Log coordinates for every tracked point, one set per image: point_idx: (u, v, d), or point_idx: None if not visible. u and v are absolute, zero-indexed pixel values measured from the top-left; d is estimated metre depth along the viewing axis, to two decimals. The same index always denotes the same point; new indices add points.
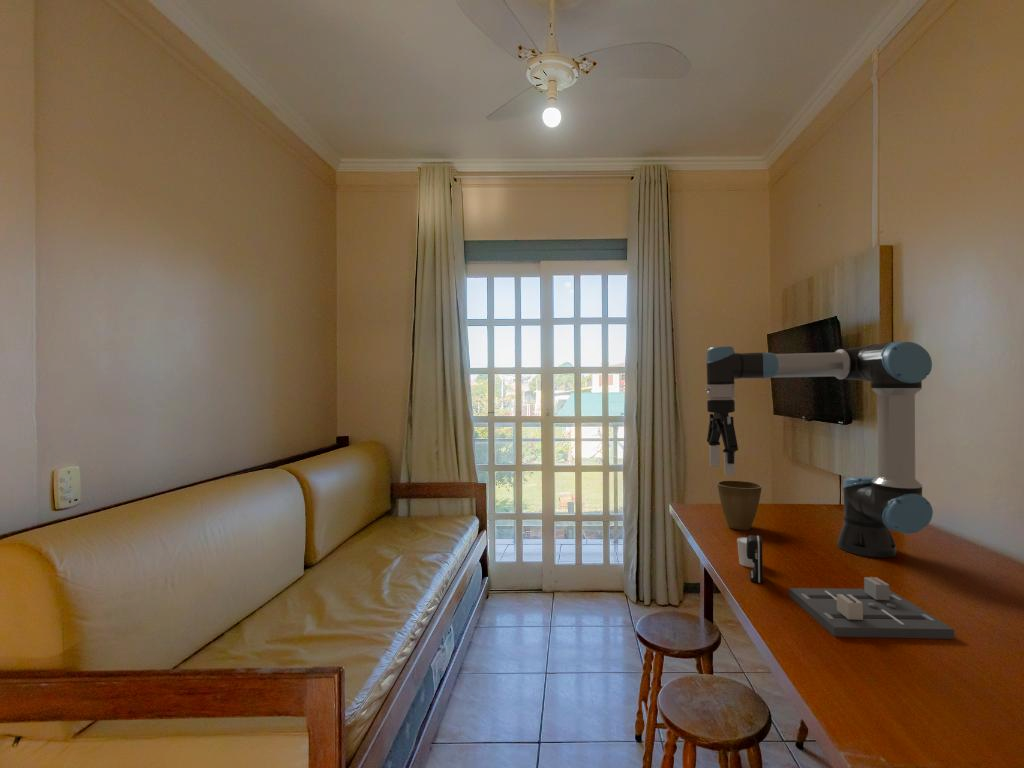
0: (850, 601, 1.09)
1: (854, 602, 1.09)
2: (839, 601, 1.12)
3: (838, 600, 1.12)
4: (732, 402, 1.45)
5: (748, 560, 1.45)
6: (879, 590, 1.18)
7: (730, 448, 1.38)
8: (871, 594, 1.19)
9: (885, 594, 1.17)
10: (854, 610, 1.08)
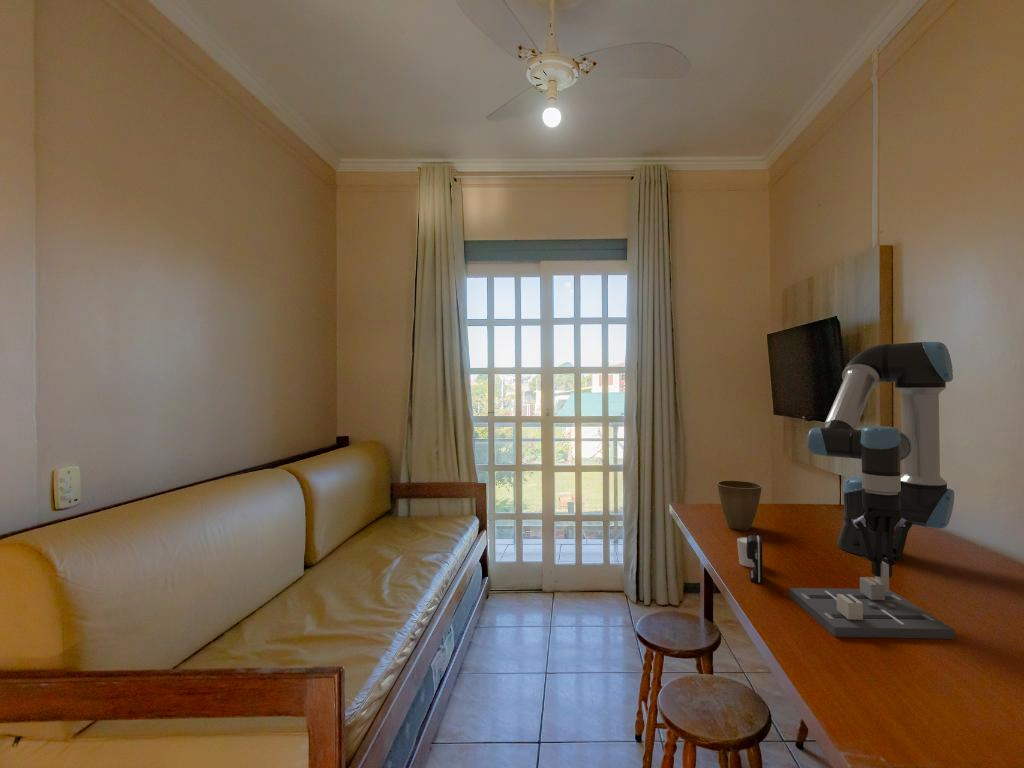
0: (850, 601, 1.09)
1: (854, 602, 1.09)
2: (839, 601, 1.12)
3: (838, 600, 1.12)
4: (874, 497, 1.17)
5: (748, 560, 1.45)
6: (875, 590, 1.18)
7: (863, 555, 1.20)
8: (866, 594, 1.19)
9: (881, 594, 1.18)
10: (854, 610, 1.08)
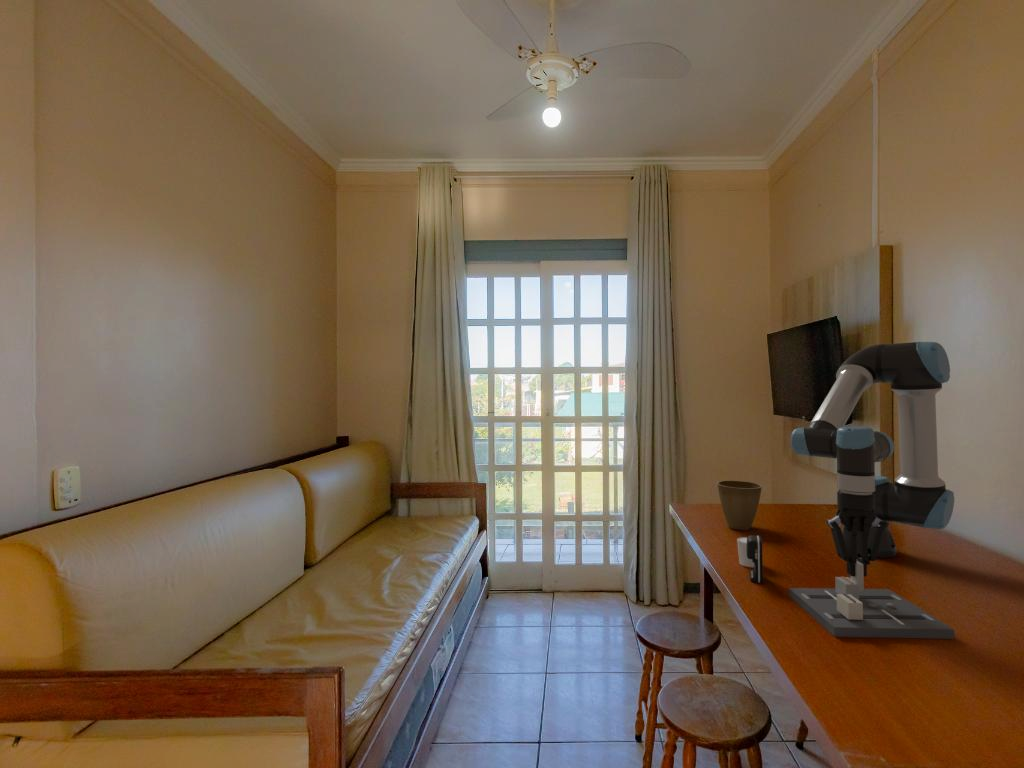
0: (850, 601, 1.09)
1: (854, 602, 1.09)
2: (839, 601, 1.12)
3: (838, 600, 1.12)
4: (849, 497, 1.18)
5: (748, 560, 1.45)
6: (849, 590, 1.18)
7: (838, 555, 1.21)
8: None
9: (855, 594, 1.18)
10: (854, 610, 1.08)
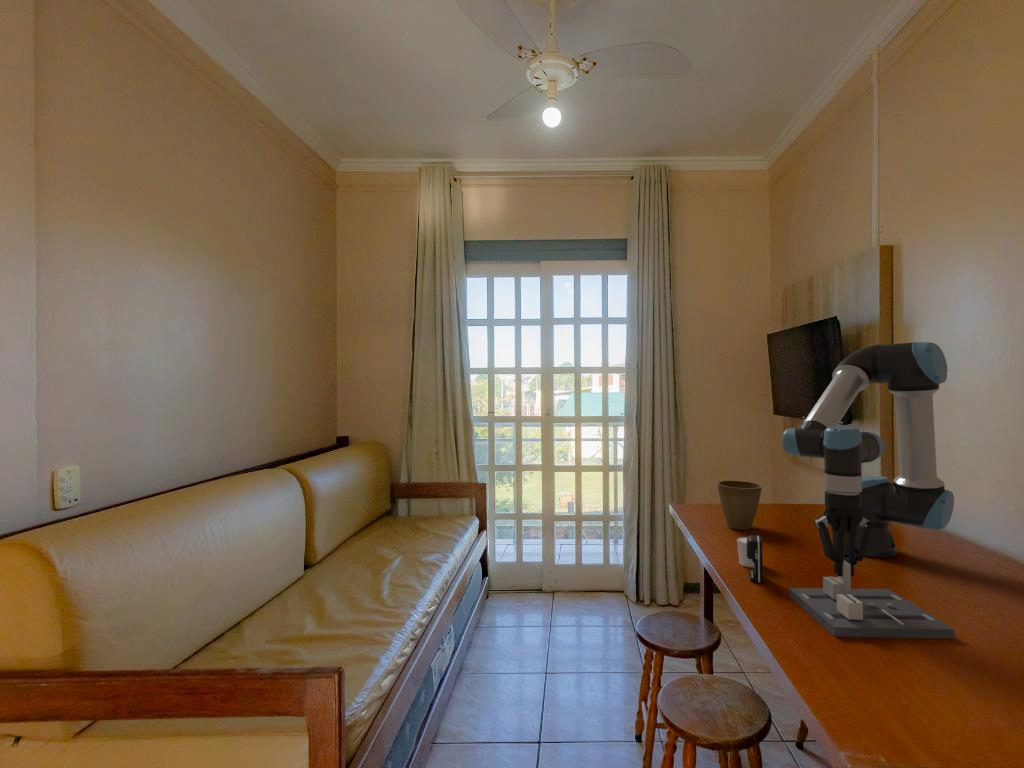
0: (850, 601, 1.09)
1: (854, 602, 1.09)
2: (839, 601, 1.12)
3: (838, 600, 1.12)
4: (836, 497, 1.18)
5: (748, 560, 1.45)
6: (836, 590, 1.18)
7: (826, 555, 1.21)
8: (829, 593, 1.20)
9: (842, 593, 1.18)
10: (854, 610, 1.08)
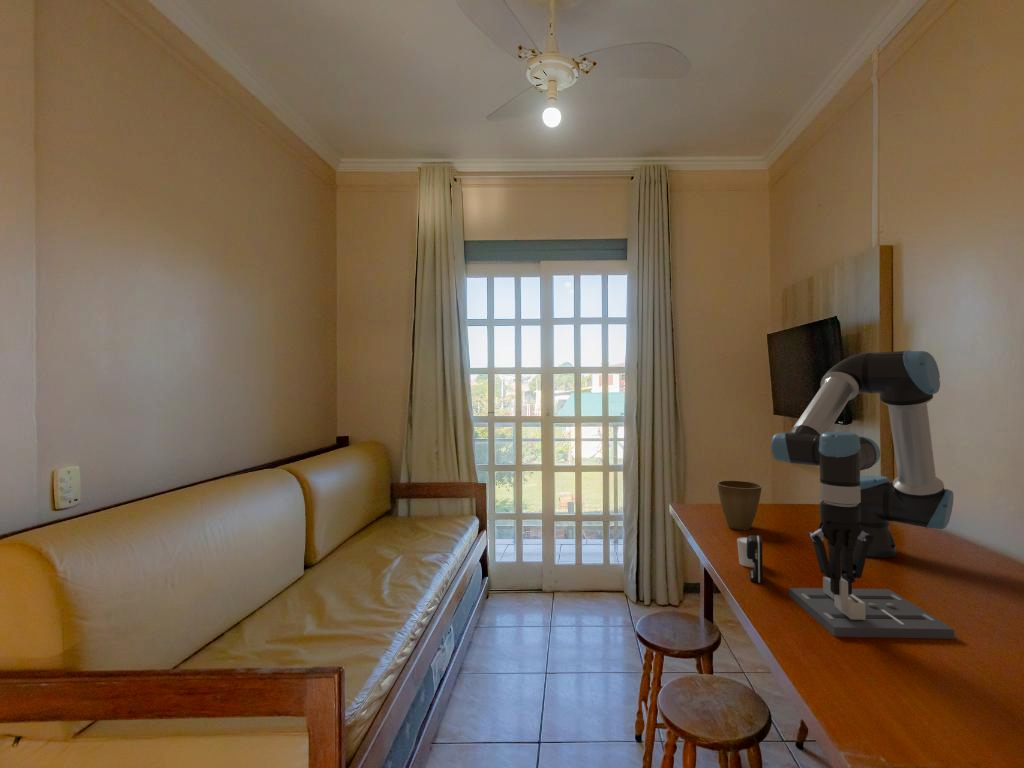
0: (853, 601, 1.09)
1: (857, 602, 1.08)
2: None
3: None
4: (832, 509, 1.08)
5: (748, 560, 1.45)
6: None
7: (821, 571, 1.12)
8: (829, 593, 1.20)
9: None
10: (857, 610, 1.08)
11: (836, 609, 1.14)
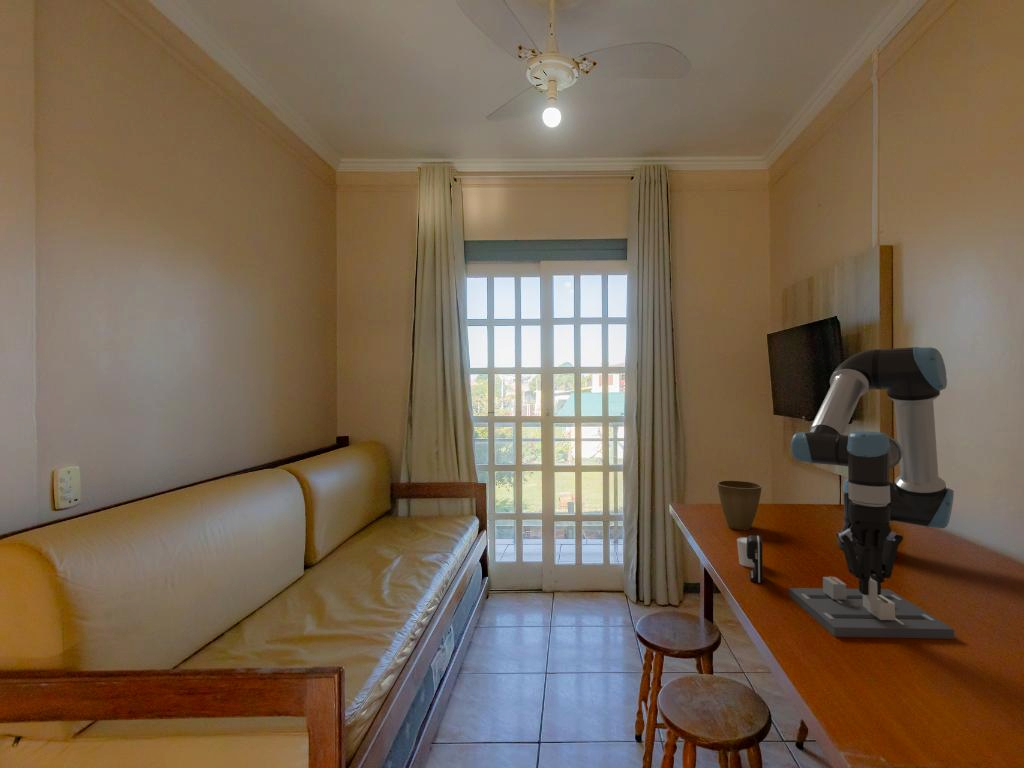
0: (882, 601, 1.09)
1: (886, 602, 1.08)
2: None
3: None
4: (861, 509, 1.08)
5: (748, 560, 1.45)
6: (836, 590, 1.18)
7: (850, 571, 1.11)
8: (829, 593, 1.20)
9: (842, 593, 1.18)
10: (886, 611, 1.08)
11: (836, 609, 1.14)
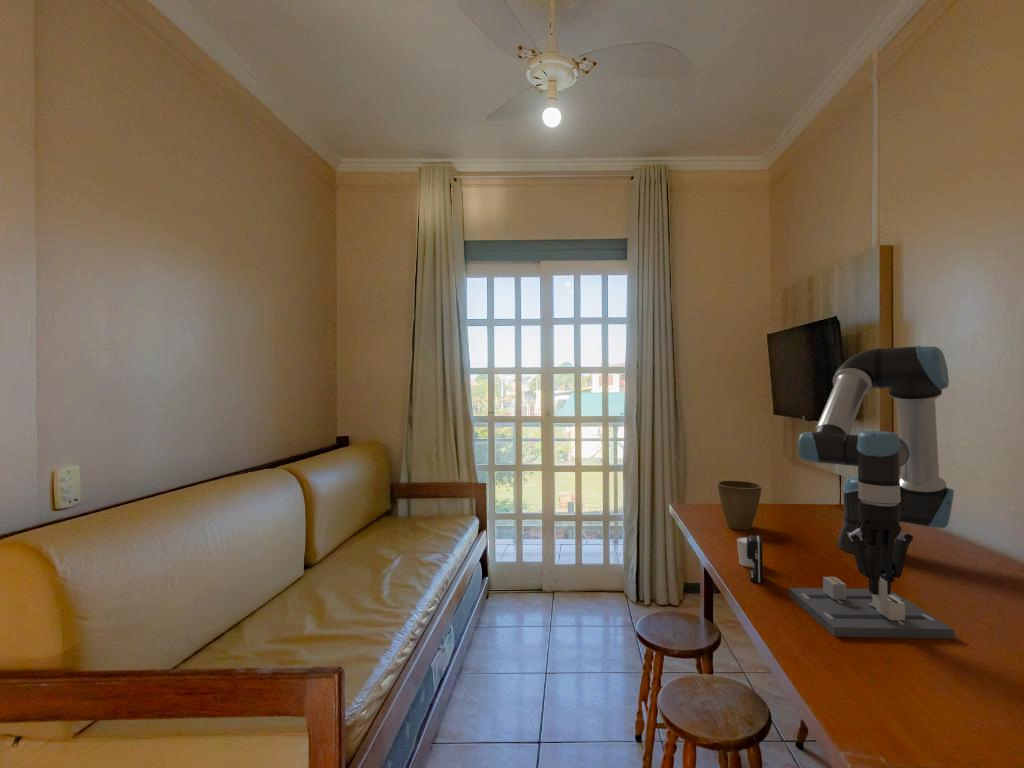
0: (892, 602, 1.08)
1: (896, 603, 1.08)
2: None
3: None
4: (872, 508, 1.08)
5: (748, 560, 1.45)
6: (836, 590, 1.18)
7: (860, 571, 1.11)
8: (829, 593, 1.20)
9: (842, 593, 1.18)
10: (896, 611, 1.08)
11: (836, 609, 1.14)
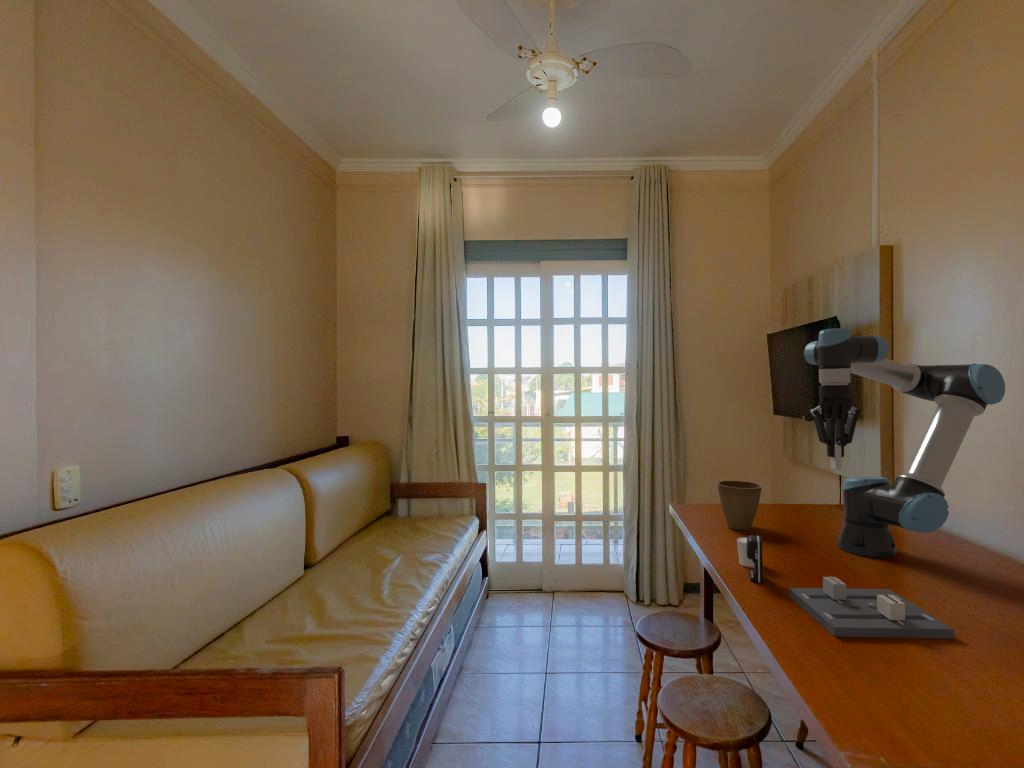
0: (892, 602, 1.08)
1: (896, 603, 1.08)
2: (880, 602, 1.11)
3: (879, 601, 1.12)
4: (828, 388, 1.37)
5: (748, 560, 1.45)
6: (836, 590, 1.18)
7: (820, 440, 1.40)
8: (829, 593, 1.20)
9: (842, 593, 1.18)
10: (896, 611, 1.08)
11: (836, 609, 1.14)
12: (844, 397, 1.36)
